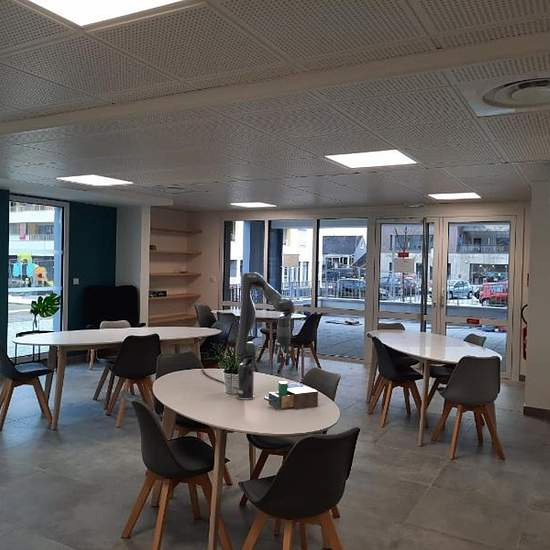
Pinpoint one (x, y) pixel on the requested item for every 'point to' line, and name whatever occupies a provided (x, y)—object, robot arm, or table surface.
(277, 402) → the drawer
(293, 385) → the hippopotamus toy
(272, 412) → the table surface
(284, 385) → the can
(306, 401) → the cabinet
